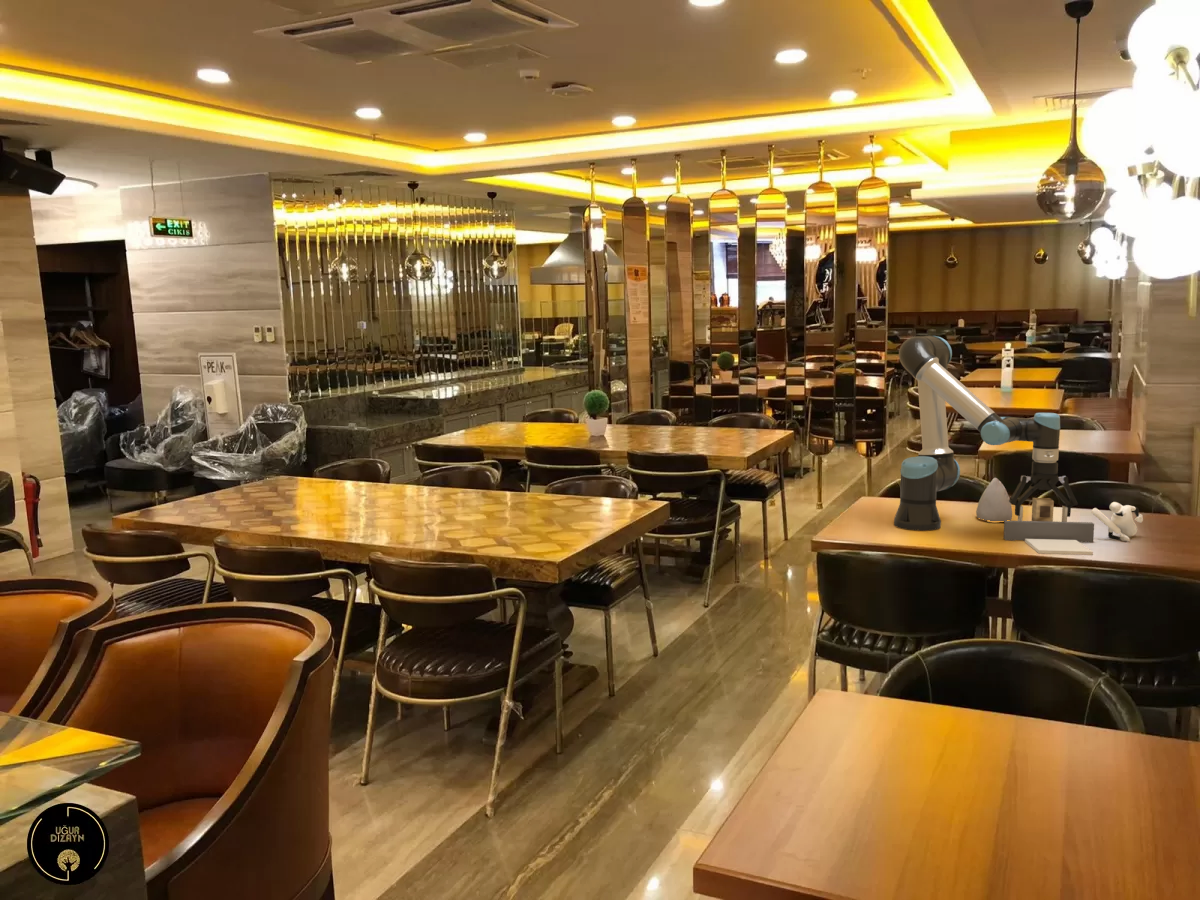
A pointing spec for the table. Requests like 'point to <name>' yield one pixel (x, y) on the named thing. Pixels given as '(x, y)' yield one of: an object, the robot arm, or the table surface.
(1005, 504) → the sculpture
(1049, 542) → the mat
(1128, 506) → the cricket player figurine
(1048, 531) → the grey plank
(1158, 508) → the table surface
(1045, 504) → the letter block
